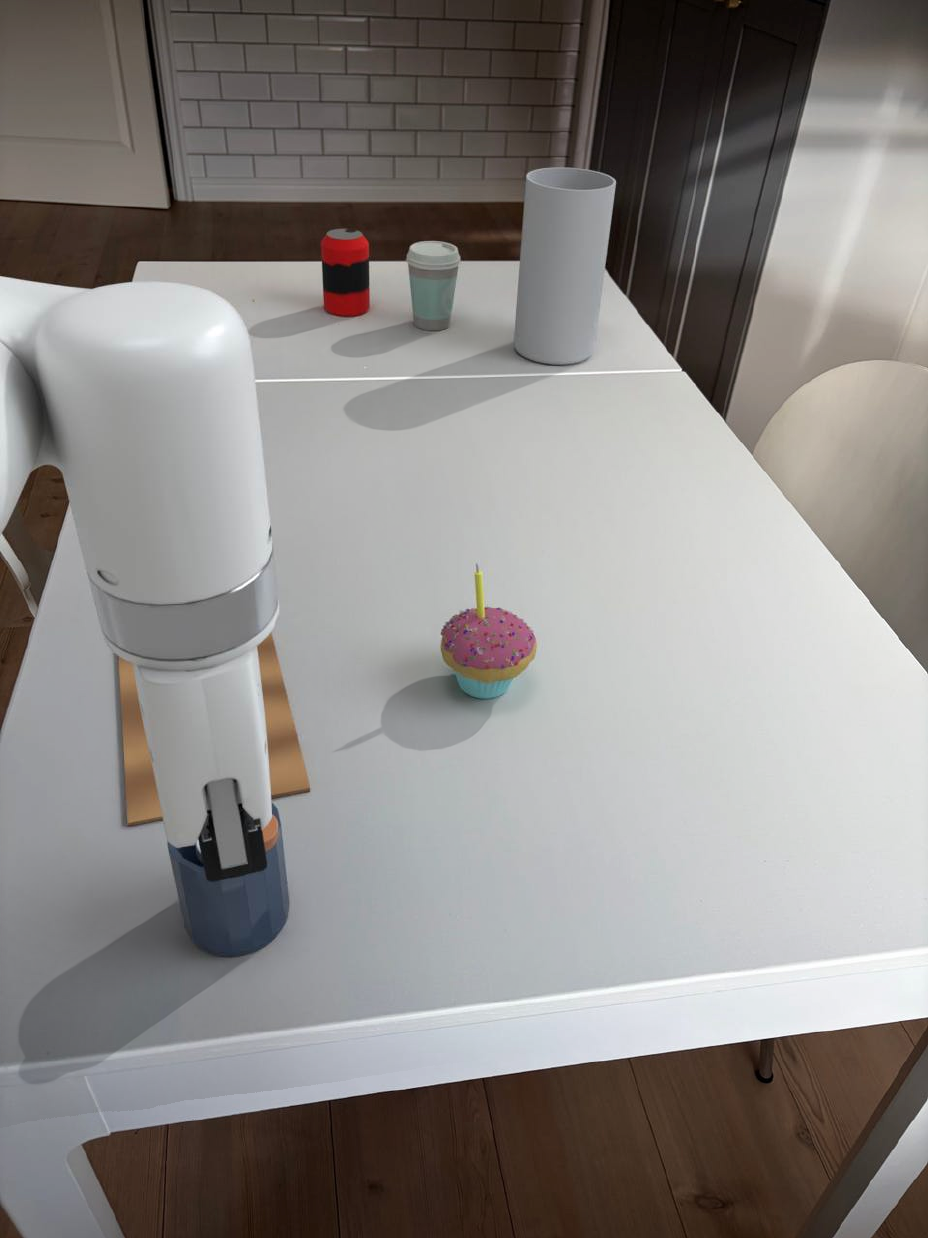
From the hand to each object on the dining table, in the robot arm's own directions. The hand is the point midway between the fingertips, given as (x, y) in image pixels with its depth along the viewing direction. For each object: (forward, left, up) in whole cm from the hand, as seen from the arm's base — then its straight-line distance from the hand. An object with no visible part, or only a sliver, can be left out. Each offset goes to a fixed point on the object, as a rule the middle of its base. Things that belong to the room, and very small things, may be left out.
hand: (235, 864), depth 53 cm
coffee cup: (+111, +50, -16) cm, 123 cm away
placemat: (+27, +28, -16) cm, 42 cm away
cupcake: (+37, +3, -16) cm, 41 cm away
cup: (+6, +7, -16) cm, 19 cm away
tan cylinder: (+7, +6, -16) cm, 18 cm away
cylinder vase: (+112, +29, -16) cm, 117 cm away
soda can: (+109, +65, -16) cm, 128 cm away
